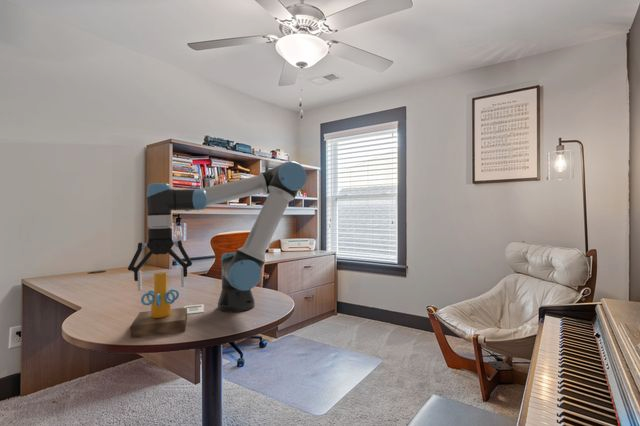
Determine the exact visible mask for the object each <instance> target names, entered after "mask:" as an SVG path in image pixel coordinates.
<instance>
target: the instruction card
mask: <svg viewBox="0 0 640 426" xmlns="http://www.w3.org/2000/svg"><path fill="white" fill-rule="evenodd" d="M186 307H187V315H193V314H203V313H205V304H204V303H201V304H193V305H184V306H183V308H186Z"/></svg>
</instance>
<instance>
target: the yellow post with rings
mask: <svg viewBox="0 0 640 426" xmlns="http://www.w3.org/2000/svg"><path fill="white" fill-rule="evenodd" d="M167 277H168V275H167V272H166V271H158V272H154V273H153V290H149V291H148V292H146V293H144V294H143V295H142V296H141V299H140V302H141V304H142V305H144V306H151V307H150V311H151V316H152V318H162V317H166V316H169V315H170V309H171V305H172V304H173V303H175V301H177V299H178V298H179V297H180V292H179V290H178V289H176V288H174V289H173V288H171V289H169V290H168V287H167V286H168V280H167ZM175 293H176V295H175ZM170 295H171V296H172V298H170V297H169V296H170ZM145 297H146V299H147V301H148V302H146V301H145V299H144V298H145ZM150 297H151V298H150Z"/></svg>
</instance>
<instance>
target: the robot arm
mask: <svg viewBox="0 0 640 426" xmlns="http://www.w3.org/2000/svg"><path fill="white" fill-rule="evenodd" d="M307 177H308V176H307V173H306V169H305V168H304V166H303V165H302V164H300V163H298V162H296V161H293V160H292V161H285V162H283V163H281V164H280V165H277V166H275V167H274V168H271V169H269V170H266V171H262V172H259V173H258V175H256V176H251V177H248V178H247V177H246V178H243V179H237V180H233V181H229V182H224V183H220V184H216V185H211V186H207V187H206V186H205V187H202V188H198V189H197V188H194V189H193V188H192V189H190V188H189V189H188V188H187V189H184V188H183V189H176V188H175V189H174V188H172V187H171V184H170V183H166V182H165V183H161V182H159V183H158V182H155V183H154V182H153V183H149V184H148V185H147V187H146V189H147V190H146V205H147V206H146V208H147V209H146V211H147V228H148V229H147V237H148V240H147V242H142V241H140V242H138V244H137V248H136V249H137V250H136V252H135V253H134V255H133V257H132V259H131V260H130V261H131V262H130V263H129V265H128V268H127V270H128V271H131V272H133V274H134V275H133V279H134V281H135V282H137V291H138V292H141V291H142V290H143V281H142V280H143V276H142V270H140V269H141V268H142V267H143V265H144V264H145V263H146V262H147V261H148V260H149V259H150V258H151V257H152V255H155V256H156V255H157V256H158V255H166V254H169V256H171V257H172V258H173V259H174V260H175V261H176V262H177V263H178V264H179V265H180V266H181V268H180V280H181V281H180V283H181V284H180V286H181V288H184V287H185V278H187V277H188V267H191V266H192V265H193V261H192V260H191V258H190V257H189V255H188V253H187V252H186V250H185V247H183V242H182V240H177V241H173V228H171V227H172V226H173V225H172V223H173V222H172V221H173V220H172V211H185V212H189V211H200V210H201V211H203V210H206V209H207V207H209V206H213V205H217V204H222V203H225V202H230V201H233V200H235V201H236V200H238V199H242V198H246V197H250V196H255V195H259V194H263V195H267V196H266V199H265V201H264V203H263V206H262V208H261V209H260V211H259V213H258V216H257V217H256V219H255V222H254V224H253V226H252V228H251V229H250V232H249V233H248V236H247V237H246V240H245V241H244V242H245V243H244V244H243V246H241V247H239V248H237V249H236V251H235V252H227V253H226V252H225V253H222V255H221V259H220V262H221V292H220V295H219V298H218V302H217V310H219V311H220V312H224V313H225V312H226V313H230V312H231V313H235V312H236V313H238V312H244V311H245V312H246V311H248V310H251V309H253V308H254V307H255V306H256V305H255V304H256V303H255V302H256V301H255V297H254V295H253V292H252V289H254V288H255V287H256V286H257V285H258V284H259V282H260V281H261V278H262V269H263V266H264V264H265V262H266V260H265V258H264V255H265V253H266V251H267V249H268V246H269V245H270V243H271V241H272V238H273V236H274V234H275V233H276V230H277V228H278V226H279V223H280V222H281V219H282V218H283V217H282V216H283V215H284V213H285V211H286V209H287V207H288V205H289V202H292V201H294V200H295V198H296V196H297V194H298V192H299V191H300V190H301V189H302V188H303V187H304V186H305V184H306V182H307ZM173 246H175V247H177V248H178V249H179V251H180V253H181V255H182V256H183V259H184V260H185V261H184V260H183V259H182V258H181V257H180V256H179V255H178V254H177V253H176V252H175V251H174V250H173ZM146 247H147V249H148V250H149V251H148V252H147V254H146V255H145V256H144V257H143V258H142V259H141V261H140V262H139V263H138V264H137V265H136V263H137V261H138V259H139V258H140V255H141V254H142V253H143V250H144V249H145V248H146ZM135 265H136V266H135Z"/></svg>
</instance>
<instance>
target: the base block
mask: <svg viewBox="0 0 640 426" xmlns="http://www.w3.org/2000/svg"><path fill="white" fill-rule="evenodd" d="M187 320H188V314H187V307H186V308H184V307H178V308H170V315H169V316H166V317H162V318H152V316H151V310H147V311H139V312H138V314H137V315H136V317H135V319H134V320H133V322H132V323H131V324H130V339H137V338H147V337H151V336H152V337H153V336H154V337H155V336H162V335H170V334H179V333H185V332H186V327H187V326H186V325H187Z"/></svg>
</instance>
